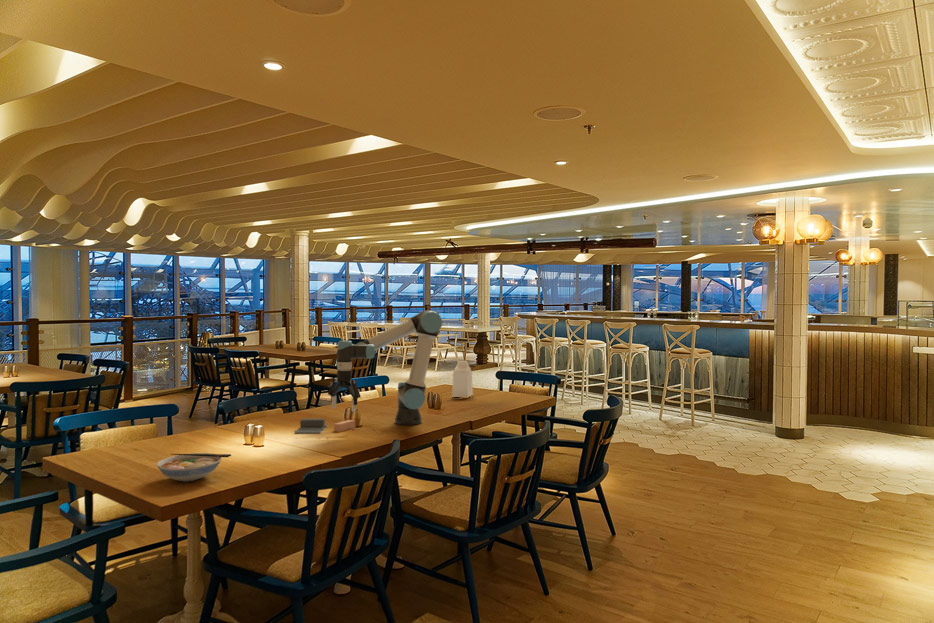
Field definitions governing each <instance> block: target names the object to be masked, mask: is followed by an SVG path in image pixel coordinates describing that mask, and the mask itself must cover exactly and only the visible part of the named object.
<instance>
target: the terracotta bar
mask: <svg viewBox="0 0 934 623" xmlns="http://www.w3.org/2000/svg"><path fill="white" fill-rule="evenodd" d="M350 429H351V431H354V430H356V421H355V420H354V419H353V420H352V419H347V420H343V421H339V422H336V423H333V430H334V432H338V433H340V432H344V431H349V430H350Z"/></svg>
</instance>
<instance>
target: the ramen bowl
mask: <svg viewBox="0 0 934 623" xmlns="http://www.w3.org/2000/svg"><path fill="white" fill-rule="evenodd" d="M170 455H173V456H169V457H166V458H162V459H161V460H159V461H158V462H156V467H157V468H158V470H159V471H160V472H161V474H163V475H164V476H165V477H167V478H169V479H172V480H175V481H179V482H181V481H182V483H190V482H189V481H191V482H195V481H194V480H196V481H198V479H199V480H200V479H201V478H204V477H206V476H208V475H209V474H211V473H212V472H214V471H215V469H217V467H218V466H219V465H220V462H221V460H222V458H229V457H231V456H232V454H231V453H229V454H228V453H227V454H226V453H225V454H224V453H223V454H222V453H219V454H218V453H217V454H216V453H210V452H209V453H208V452H195V453H171V454H170Z"/></svg>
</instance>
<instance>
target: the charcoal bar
mask: <svg viewBox="0 0 934 623" xmlns="http://www.w3.org/2000/svg"><path fill="white" fill-rule="evenodd" d="M299 421H300V422H299V424H300V427H299V428H325V425H326V419H325V418H302V419H300V420H299ZM325 429H326V428H325Z"/></svg>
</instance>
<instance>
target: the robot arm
mask: <svg viewBox="0 0 934 623" xmlns="http://www.w3.org/2000/svg"><path fill="white" fill-rule="evenodd" d="M442 327H443V318H442V316H441V315H440V314H439V313H438V312H437V311H434V310H423V311H421V312H419V313H417V314H416V315H414V316H412V317H409V318H408V320H407V321H405V322H403V323H400V324H398V325H397V326H394V327H391V328H389V329H387V330H385V331H382V332H381V333H379V334H376V335H374V336H371V337H370V338H368V339H364V340H363V341H359V342H357V343H356V344H354V343H353V342H352V340H339V341H338V342H337V350H336V351H337V352H336V353H337V354H336V357H337V358H336V359H337V360H336V362H337V364H336V365H337V367H336V369H337V371H336V377H334V378H332V382H331V385H330V387H329V390H328V393H327V395H328V396H330V402H331V410H334V409H337V393H339V391H340V389H341V388H345V389H346V390H348V392H349V394H350V395H351V397H352V399H351V412H352V413H353V412H356V411H357V406H358V399H360V398H361V394H360V391H359V387H358V385H357V380H356V379H352V376H353V375H352V368H353V366H352V365H353V363H352V362H353V361H352V360H353V359H374V358H375V357H376V356H375V355H376V351H377V350H379V349H382V348H384V347H386V346H388V345H390V344H393V343H395V342H397V341H399V340H401V339H404V338H406V337H408V336H411V335H413V334H415V335H417V337H418V338H417V342H416V347H415V351H414V355H413V359H412V364H411V368H410V372H409V377H408V379H406V380H405V381H402V382H398V385H397V392H398V393H397V411H396V414H395V417H394V423H395V424H397V425H403V426H413V425H420V424H422V422H423V421H422V415H421V412H420V408H421V407H423V405H424V404H425V403H426V402H425V401H426V388H427V385H426V383H425V380H426V375H427V372H428V368H429V363H430V358H431V354H432V349H433V346H434V341H435V339H437V338H438V336H439V331H440V329H441V328H442Z"/></svg>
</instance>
